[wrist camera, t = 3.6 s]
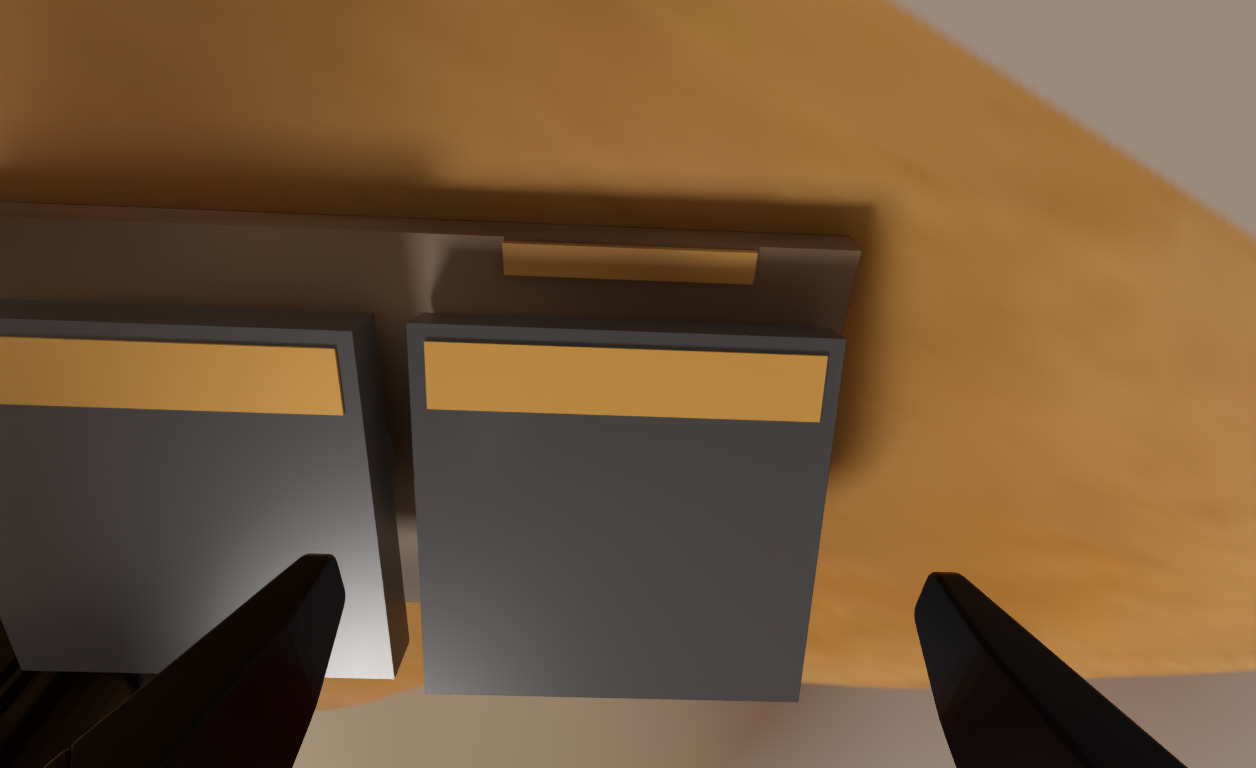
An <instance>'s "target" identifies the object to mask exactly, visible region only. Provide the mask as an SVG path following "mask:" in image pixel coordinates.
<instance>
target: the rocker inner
mask: <svg viewBox="0 0 1256 768" xmlns="http://www.w3.org/2000/svg"><path fill="white" fill-rule="evenodd" d="M308 553H319V554H332V555H333V556H334V557H335V558H336V560H337V563H338V566H339V570H340V573H341V577H342V581H343V584H344V588H345V605H344V609H343V612H342V616H341V620H340V623H339V627H338V631H337V634H336V638H335V641H334V645H333V649H332V652H331V656H330V660H329V663H328V667H327V670H326V674H325V677H326V678H369V679H395V676H396V674H397V671H398V669H399V666H400V664H401V661H402V659H403V656H404V654H405V651H406V649H407V646H408V644H409V632H408V623H407V614H406V605H405V595H404V586H403V577H402V568H401V558H400V549H399V540H398V530H397V521H396V512H395V503H394V493H393V484H392V475H391V465H390V456H389V447H388V438H387V428H386V419H385V410H384V400H383V391H382V382H381V373H380V363H379V354H378V345H377V335H376V326H375V317H374V313H361V312H334V311H307V310H280V309H254V308H227V307H200V306H173V305H146V304H119V303H92V302H65V301H39V300H12V299H0V618H1V620H2V623H3V625H4V628H5V630H6V633H7V635H8V638H9V640H10V643H11V645H12V648H13V650H14V653H15V655H16V658H17V660H18V663H19V665H20V668H21V670H27V671H69V672H112V673H155V674H158V673H159V672H161V671H162V670H163V669H164V668H165V667H167V666H168V665H169V664H170V663H172V662H173V661H174V660H175V659H176V658H178V657H179V656H180V655H181V654H183V653H184V652H185V651H186V650H187V649H189V648H190V647H191V646H192V645H194V644H195V643H196V642H197V641H198V640H200V639H201V638H202V637H203V636H205V635H206V634H207V633H208V632H209V631H211V630H212V629H213V628H214V627H216V626H217V625H218V624H219V623H220V622H222V621H223V620H224V619H225V618H227V617H228V616H229V615H230V614H231V613H233V612H234V611H235V610H236V609H237V608H239V607H240V606H241V605H242V604H244V603H245V602H246V601H247V600H248V599H250V598H251V597H252V596H253V595H255V594H256V593H257V592H258V591H259V590H261V589H262V588H263V587H264V586H266V585H267V584H268V583H269V582H270V581H272V580H273V579H274V578H275V577H277V576H278V575H279V574H280V573H281V572H283V571H284V570H285V569H286V568H288V567H289V566H290V565H291V564H292V563H294V562H295V561H296V560H297V559H299V558H300V557H301V556H303V555H305V554H308Z"/></svg>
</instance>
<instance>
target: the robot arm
mask: <svg viewBox="0 0 1256 768" xmlns="http://www.w3.org/2000/svg"><path fill="white" fill-rule="evenodd" d="M344 605H345V588H344V584H343V581H342V577H341V573H340V570H339V566H338V563H337V560H336V558H335V557H334V556H333V555H332V554H319V553H308V554H305V555H303V556H301V557H300V558H299V559H297V560H296V561H295V562H294V563H292V564H291V565H290V566H289V567H288V568H286V569H285V570H284V571H283V572H281V573H280V574H279V575H278V576H277V577H275V578H274V579H273V580H272V581H270V582H269V583H268V584H267V585H266V586H264V587H263V588H262V589H261V590H259V591H258V592H257V593H256V594H255V595H253V596H252V597H251V598H250V599H248V600H247V601H246V602H245V603H244V604H242V605H241V606H240V607H239V608H237V609H236V610H235V611H234V612H233V613H231V614H230V615H229V616H228V617H227V618H225V619H224V620H223V621H222V622H220V623H219V624H218V625H217V626H216V627H214V628H213V629H212V630H211V631H209V632H208V633H207V634H206V635H205V636H203V637H202V638H201V639H200V640H198V641H197V642H196V643H195V644H194V645H192V646H191V647H190V648H189V649H187V650H186V651H185V652H184V653H183V654H181V655H180V656H179V657H178V658H176V659H175V660H174V661H173V662H172V663H170V664H169V665H168V666H167V667H165V668H164V669H163V670H162V671H161V672H159V673H158V674H157V675H156V676H154V674H153V673H112V672H69V671H27V670H21V668H20V665H19V663H18V660H17V658H16V655H15V653H14V650H13V648H12V645H11V643H10V640H9V638H8V635H7V633H6V630H5V628H4V625H3V623H2V620H1V618H0V768H292V767H293V764H294V762H295V759H296V757H297V754H298V752H299V749H300V747H301V744H302V741H303V739H304V737H305V734H306V732H307V729H308V727H309V724H310V721H311V719H312V716H313V713H314V711H315V708H316V705H317V702H318V699H319V695H320V692H321V689H322V685H323V681H324V678H325V674H326V670H327V667H328V663H329V660H330V656H331V652H332V649H333V645H334V641H335V638H336V634H337V631H338V627H339V623H340V620H341V616H342V612H343V609H344ZM914 616H915V623H916V628H917V632H918V636H919V640H920V644H921V648H922V652H923V656H924V660H925V664H926V668H927V672H928V676H929V680H930V684H931V689H932V692H933V697H934V701H935V704H936V708H937V712H938V716H939V719H940V722H941V725H942V728H943V731H944V734H945V737H946V740H947V743H948V745H949V748H950V751H951V754H952V757H953V759H954V762H955V765H956V768H1188V767H1186V766H1185V765H1184V764H1183V763H1181V762H1180V761H1179V760H1178V759H1177V758H1176V757H1175V756H1173V755H1172V754H1171V753H1170V752H1169V751H1168V750H1166V749H1165V748H1164V747H1163V746H1162V745H1161V744H1159V743H1158V742H1157V741H1156V740H1155V739H1153V738H1152V737H1151V736H1150V735H1149V734H1148V733H1147V732H1145V731H1144V730H1143V729H1142V728H1141V727H1140V726H1138V725H1137V724H1136V723H1135V722H1134V721H1133V720H1131V719H1130V718H1129V717H1127V715H1125V714H1124V713H1123V712H1122V711H1121V710H1120V709H1118V708H1117V707H1116V706H1115V705H1114V704H1113V703H1111V702H1110V701H1109V700H1108V699H1107V698H1105V697H1104V696H1103V695H1102V694H1101V693H1100V692H1099V691H1097V690H1096V689H1095V688H1094V687H1093V686H1092V685H1090V684H1089V683H1088V682H1087V681H1086V680H1084V679H1083V678H1082V677H1081V676H1080V675H1079V674H1077V673H1076V672H1075V671H1074V670H1073V669H1072V668H1070V667H1069V666H1068V665H1067V664H1066V663H1065V662H1063V661H1062V660H1061V659H1060V658H1059V657H1058V656H1056V655H1055V654H1054V653H1053V652H1052V651H1051V650H1049V649H1048V648H1047V647H1046V646H1045V645H1043V644H1042V643H1041V642H1040V641H1039V640H1038V639H1036V638H1035V637H1034V636H1033V635H1032V634H1031V633H1029V632H1028V631H1027V630H1026V629H1025V628H1024V627H1022V626H1021V625H1020V624H1019V623H1018V622H1017V621H1015V620H1014V619H1013V618H1012V617H1011V616H1010V615H1008V614H1007V613H1006V612H1005V611H1004V610H1003V609H1001V608H1000V607H999V606H998V605H997V604H995V603H994V602H993V601H992V600H991V599H990V598H988V597H987V596H986V595H985V594H984V593H983V592H981V591H980V590H979V589H978V588H977V587H976V586H974V585H973V584H972V583H971V582H970V581H969V580H967V579H966V578H965V577H964V576H962V575H961V574H959V573H954V572H932V573H931V574H930V575H929V576H928V578H927V580H926V582H925V584H924V587H923V589H922V592H921V594H920V596H919V599H918V601H917V604H916V607H915V615H914Z"/></svg>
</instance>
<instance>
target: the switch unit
mask: <svg viewBox="0 0 1256 768" xmlns="http://www.w3.org/2000/svg"><path fill="white" fill-rule="evenodd" d="M861 253H862V250H861V249H860V248H859V247H858V246H857V244H856V243H855V242H854V241H853V239H852V238H851V237H850V236H830V235H805V234H781V233H756V232H732V231H707V230H683V229H658V228H634V227H609V226H585V225H560V224H536V223H511V222H487V221H462V220H438V219H413V218H389V217H364V216H340V215H315V214H291V213H266V212H242V211H217V210H193V209H168V208H144V207H119V206H95V205H70V204H46V203H21V202H0V299H12V300H39V301H65V302H92V303H119V304H146V305H173V306H200V307H227V308H254V309H280V310H307V311H334V312H361V313H374V317H375V326H376V335H377V345H378V354H379V363H380V373H381V382H382V391H383V400H384V410H385V419H386V428H387V438H388V447H389V456H390V465H391V475H392V484H393V493H394V503H395V512H396V521H397V530H398V540H399V549H400V558H401V568H402V577H403V586H404V595H405V602H420V582H419V563H418V544H417V524H416V505H415V485H414V466H413V446H412V427H411V408H410V388H409V369H408V349H407V330H406V323H407V322H409V321H410V320H412V319H414V318H415V317H417V316H419V315H420V314H422V313H423V312H426V313H453V314H480V315H507V316H534V317H560V318H587V319H614V320H641V321H668V322H695V323H721V324H748V325H775V326H802V327H828V328H830V329H831V330H833V331H834V332H836V333H837V334H839V335H842V331H843V327H844V322H845V318H846V314H847V310H848V306H849V302H850V298H851V294H852V290H853V286H854V281H855V277H856V273H857V269H858V265H859V261H860V257H861Z"/></svg>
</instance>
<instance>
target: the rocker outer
mask: <svg viewBox="0 0 1256 768" xmlns="http://www.w3.org/2000/svg"><path fill="white" fill-rule="evenodd" d="M406 330H407V349H408V369H409V388H410V408H411V427H412V446H413V466H414V485H415V505H416V524H417V544H418V563H419V582H420V602H421V621H422V641H423V660H424V680H425V693H426V694H461V695H462V694H463V695H505V696H550V697H592V698H594V697H595V698H636V699H637V698H638V699H639V698H640V699H680V700H681V699H682V700H724V701H769V702H771V701H772V702H798V700H799V693H800V686H801V678H802V671H803V663H804V656H805V648H806V641H807V633H808V625H809V618H810V610H811V603H812V595H813V588H814V580H815V573H816V565H817V558H818V550H819V543H820V535H821V528H822V520H823V513H824V505H825V498H826V490H827V483H828V475H829V468H830V460H831V453H832V445H833V437H834V430H835V422H836V415H837V407H838V400H839V392H840V385H841V377H842V370H843V362H844V355H845V347H846V340H847V339H845V338H844V337H842V336H841V335H839V334H837V333H836V332H834V331H833V330H831V329H830V328H828V327H802V326H775V325H748V324H721V323H695V322H668V321H641V320H614V319H587V318H560V317H534V316H507V315H480V314H453V313H426V312H423V313H422V314H420V315H419V316H417V317H415V318H414V319H412V320H410V321H409V322H407V323H406Z"/></svg>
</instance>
